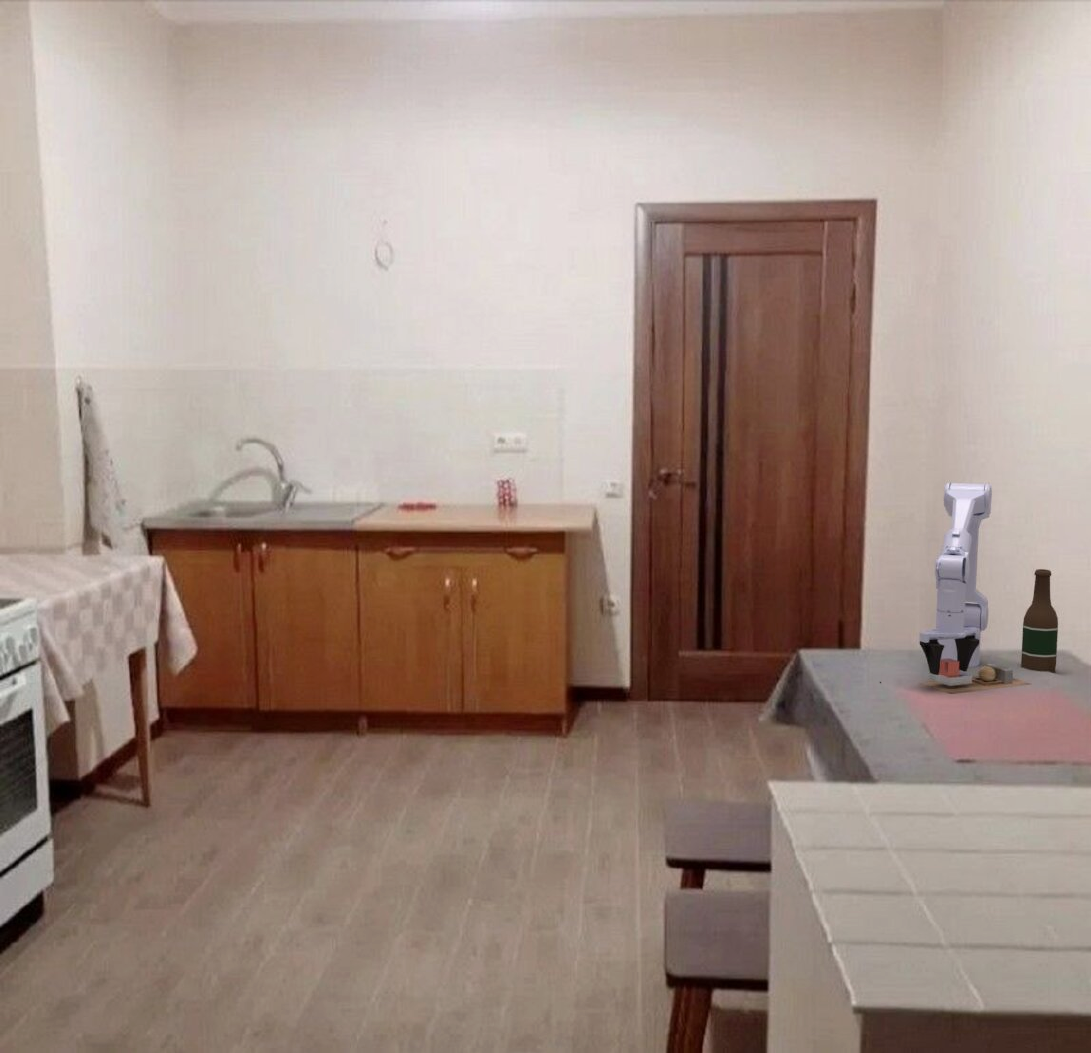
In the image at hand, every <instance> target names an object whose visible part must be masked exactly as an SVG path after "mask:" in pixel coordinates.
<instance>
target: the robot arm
mask: <svg viewBox="0 0 1091 1053" xmlns="http://www.w3.org/2000/svg"><path fill="white" fill-rule="evenodd" d="M992 489H993V488H992V486H991V484H990V483H967V482H966V483H963V482H961V483H960V482H947V483H945V486H944V490H943V491H944V492H943V506H944V508H945V511H946V513H947V515H948V517H950V518H951V525H950V526H951V527H950V529H949V530H947V531H946V532H945V533H944V536H943V541H942V545H941V546H942V547H941V551H940V556H938V555H937V557H936V559H935V563H934V564H935V565H934V566H935V567H934V575H935V588H936V589H937V591H936V593H937V594H936V612H935V613H936V614H935V615H936V617H935V618H936V619H935V628H934V629H928V630H926V631H920V632H919V645H920V647H921V649H922V651H923V654H924V655H925V658H926V662H927V667H928V672H929V674H932V675H934V676H936V675H939V671H940V660H941V659H948V658H950V659H953V660H957V661H959V671H960V672H963V673H966V672H967V671H968V668H969V667H978V666H980V663H981V662H980V661H981V660H980V659H981V658H980V656H981V655H980V654H981V636H982V631H983V632H984V631H985V630H986V629H987V628H988V623H989V606H988V605H989V600H988V598H987V596H985V595H984V594H983V593H982V592H981V591H979V590H978V589H977V571H978V556H979V554H978V552H979V532H980V531H979V529H980V525H981V524H982V521H983V520H985V519H988V518H990V515H991V510H992V497H993V496H992V495H993V494H992V493H993V491H992Z"/></svg>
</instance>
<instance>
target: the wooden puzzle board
mask: <svg viewBox="0 0 1091 1053" xmlns="http://www.w3.org/2000/svg"><path fill="white" fill-rule="evenodd" d="M985 666H989V667H992V668H993V669H994V670H995V673H996V676H995V679H994V680H993V681H991V682H984V681H982V680H981V679H980V677H979V675H972V683H971V684H963V685H955V686H948V685H945V684H942V683H939V682H936V681H935V680H931V681H924V682H923V681H922V682H919V684H921V685H924V686H926V687H930V688H933V689H935V690H938V691H940V692H943V693H946V694H950V695H955V694H962V693H972V692H978V691H988V690H995V689H996V690H997V689H1002V688H1013V687H1020V686H1027V685H1031V682H1027V681H1024V680H1020V679H1018V678H1013V675H1014V674H1013V673H1014V672H1013V671H1014V669H1012V668H1008V667H1005V666H1002V665H1001V666H1000V665H998V664H994V663H989V664H985Z"/></svg>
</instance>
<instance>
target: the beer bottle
mask: <svg viewBox="0 0 1091 1053" xmlns="http://www.w3.org/2000/svg"><path fill="white" fill-rule="evenodd" d="M1034 576H1035V578H1034V579H1035V580H1034V587H1033V588H1034V589H1033V596H1032V597H1033V598H1032V602H1031V604H1030V606H1029V607H1028V608H1027V610H1026V612H1025V615H1024V617H1023V621H1022V636H1021V639H1022V640H1021V641H1022V642H1021V659H1020V663H1021V664H1020V668H1023V669H1026V670H1028V671H1036V672H1049V673H1051V674H1055V673H1056V668H1057V652H1058V637H1059V636H1058V633H1059V632H1058V631H1059V621H1058V620H1059V619H1058V618H1059V617H1058V616H1057V611H1056V610H1055V608H1054V607H1053V606H1052V602H1051V601H1052V600H1051V576H1052V571H1051V570H1050V569H1043V568H1039V569H1036V570H1034Z"/></svg>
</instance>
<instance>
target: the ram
mask: <svg viewBox="0 0 1091 1053" xmlns="http://www.w3.org/2000/svg"><path fill="white" fill-rule="evenodd" d="M972 676H973V675H972V674H969V673H966V672H964V671H961V670H959V661H957V660H953V659H950V658H948V659H941V660H940V671H939V675H935V680H934V681H936V682H939V683H942V684H945V685H948V686H955V685H963V684H971V683H972Z"/></svg>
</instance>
